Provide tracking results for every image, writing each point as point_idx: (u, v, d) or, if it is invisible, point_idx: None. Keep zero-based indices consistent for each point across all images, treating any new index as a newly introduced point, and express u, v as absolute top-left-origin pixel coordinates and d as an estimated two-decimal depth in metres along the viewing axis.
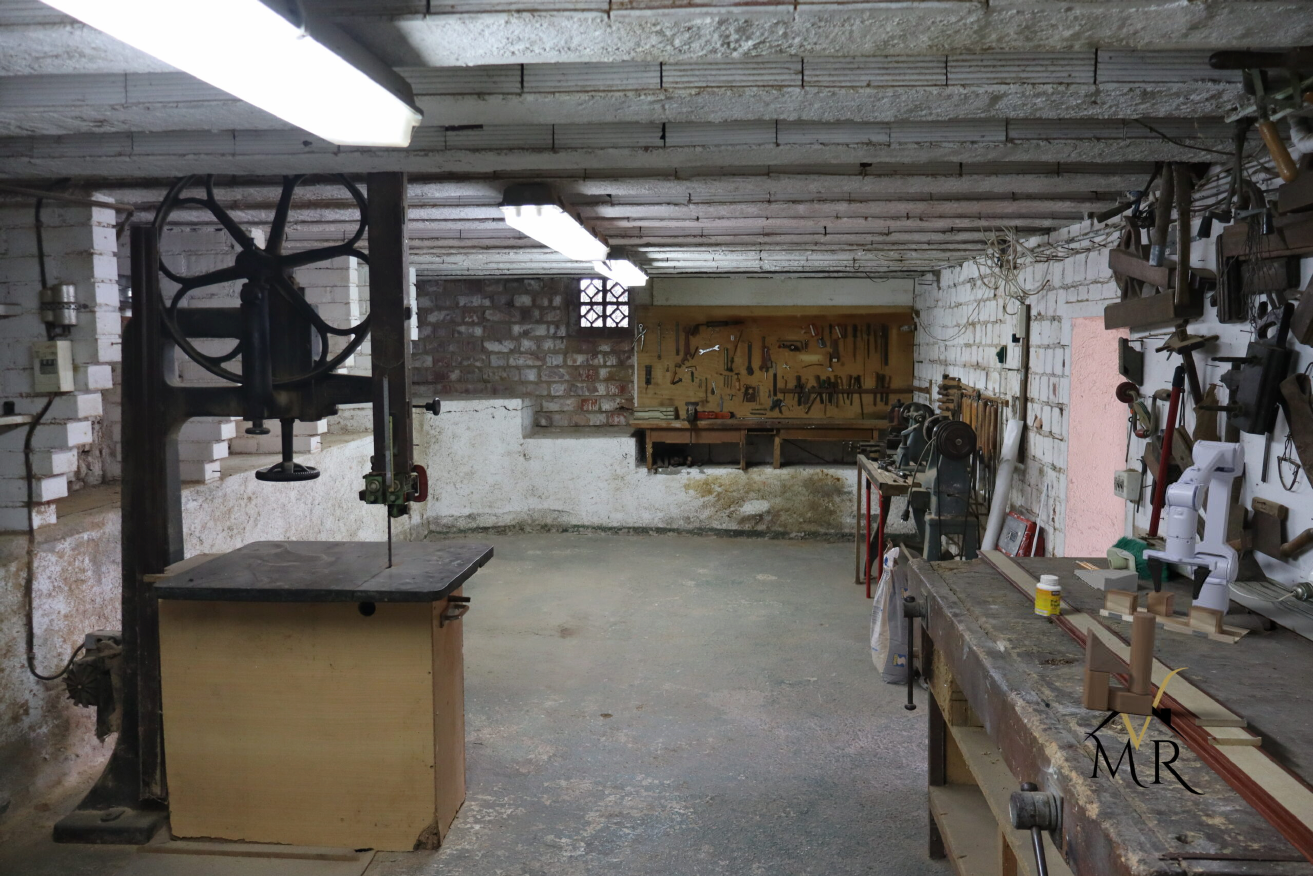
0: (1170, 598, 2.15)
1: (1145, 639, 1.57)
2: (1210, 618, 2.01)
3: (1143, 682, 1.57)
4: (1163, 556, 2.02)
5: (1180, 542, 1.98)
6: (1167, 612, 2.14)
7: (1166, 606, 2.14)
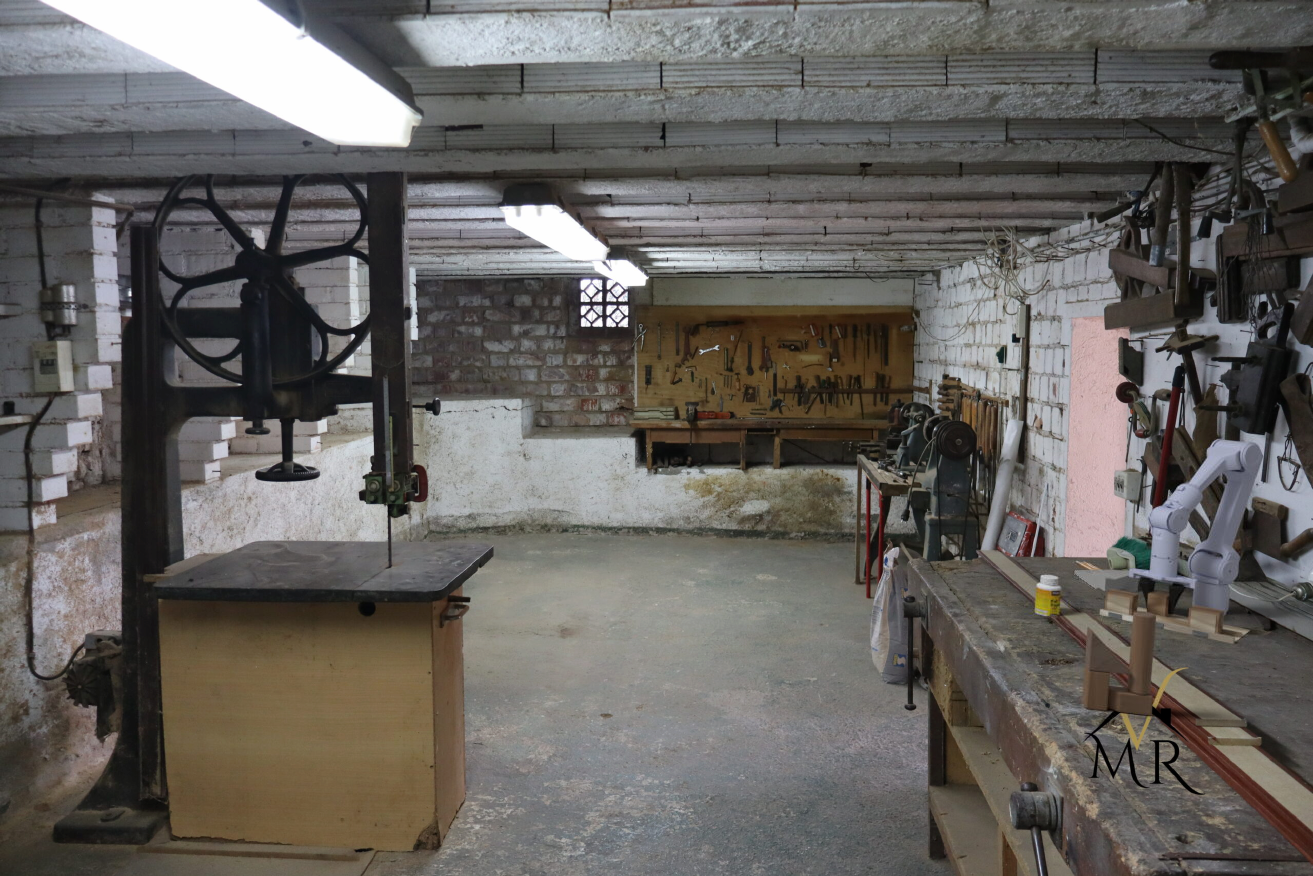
0: None
1: (1145, 639, 1.57)
2: (1210, 618, 2.01)
3: (1143, 682, 1.57)
4: (1148, 575, 2.16)
5: (1163, 562, 2.13)
6: (1167, 612, 2.14)
7: (1166, 606, 2.14)
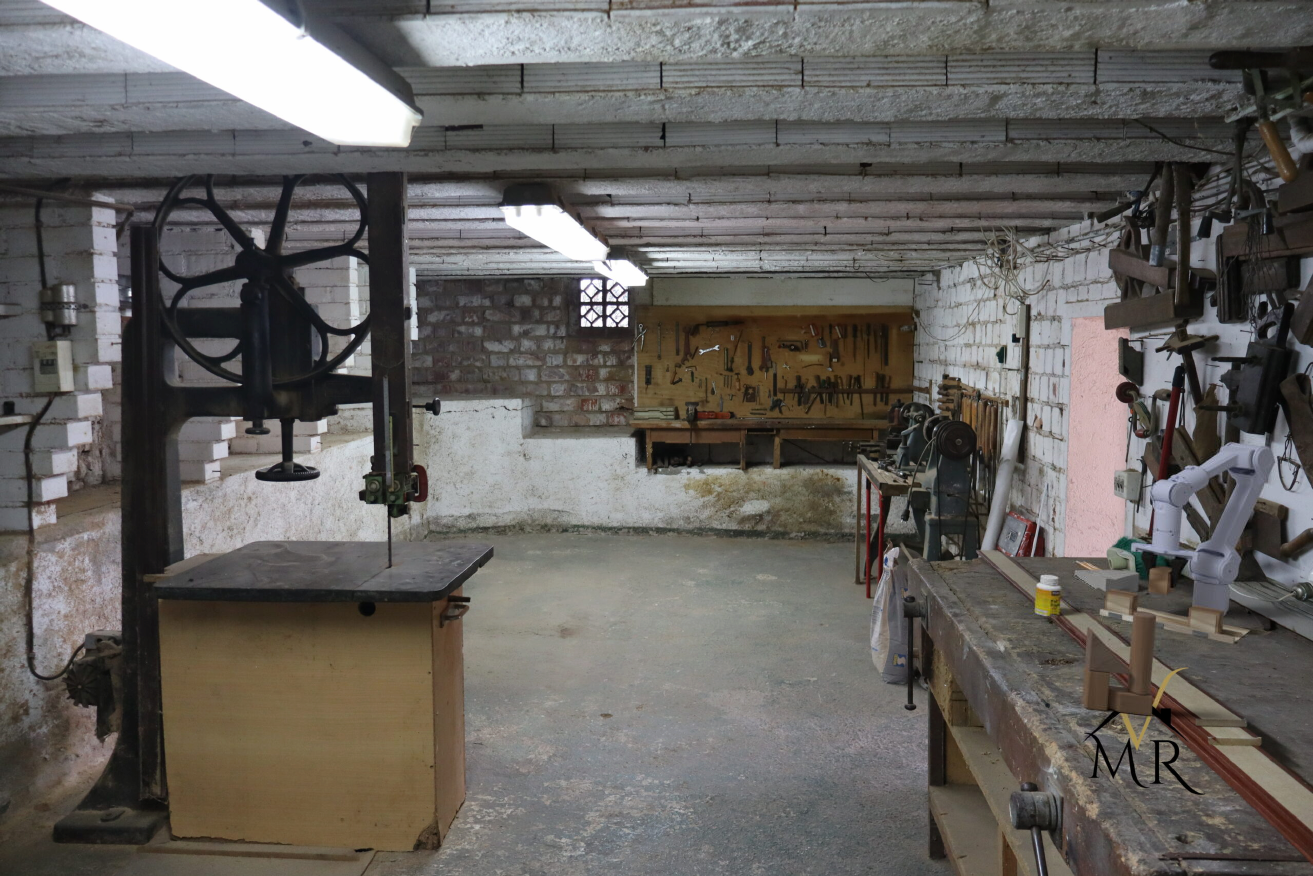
0: None
1: (1145, 639, 1.57)
2: (1210, 618, 2.01)
3: (1143, 682, 1.57)
4: (1150, 548, 2.16)
5: (1165, 535, 2.13)
6: (1169, 587, 2.14)
7: (1168, 581, 2.13)
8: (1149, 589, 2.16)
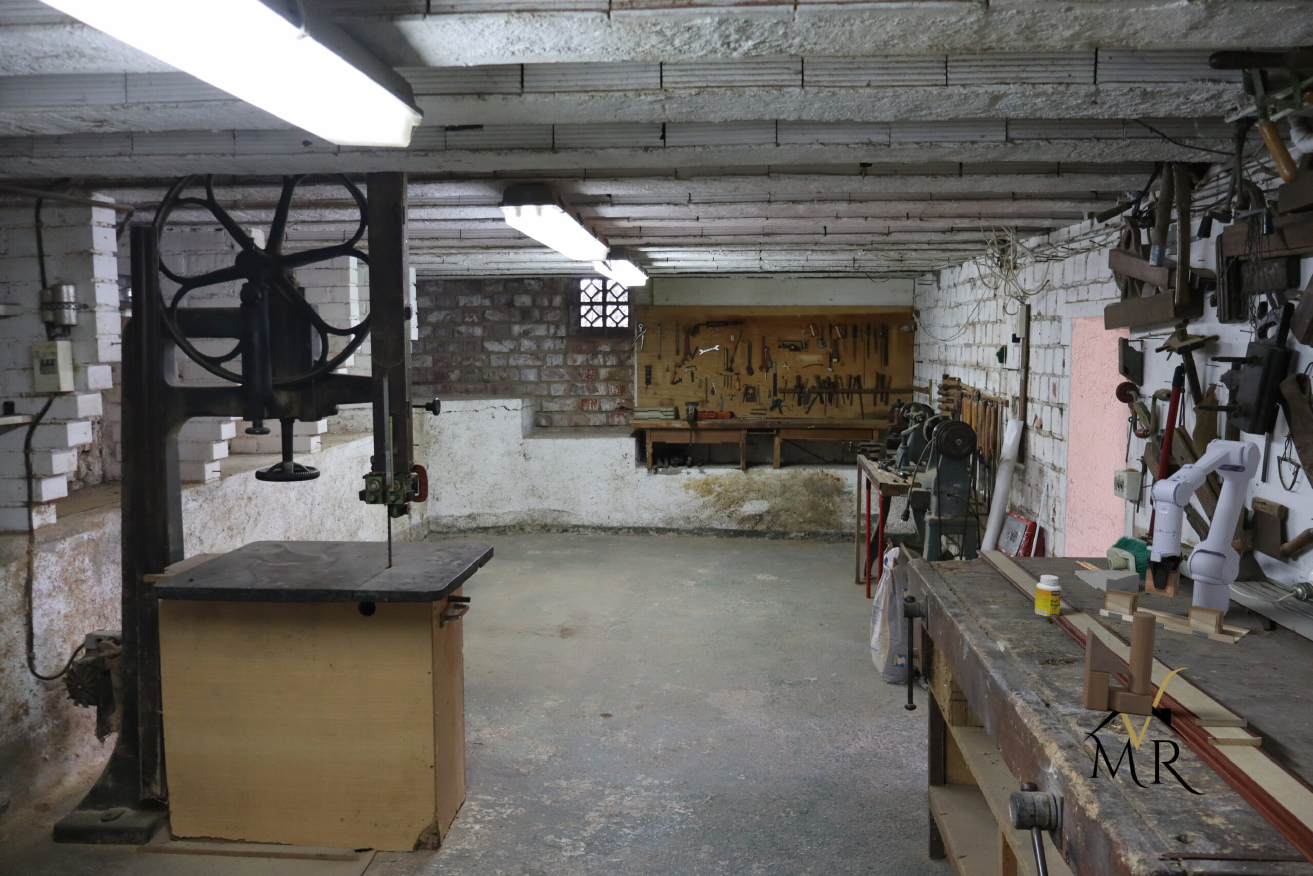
0: None
1: (1145, 639, 1.57)
2: (1210, 618, 2.01)
3: (1143, 682, 1.57)
4: None
5: None
6: (1150, 586, 2.12)
7: (1147, 579, 2.13)
8: None
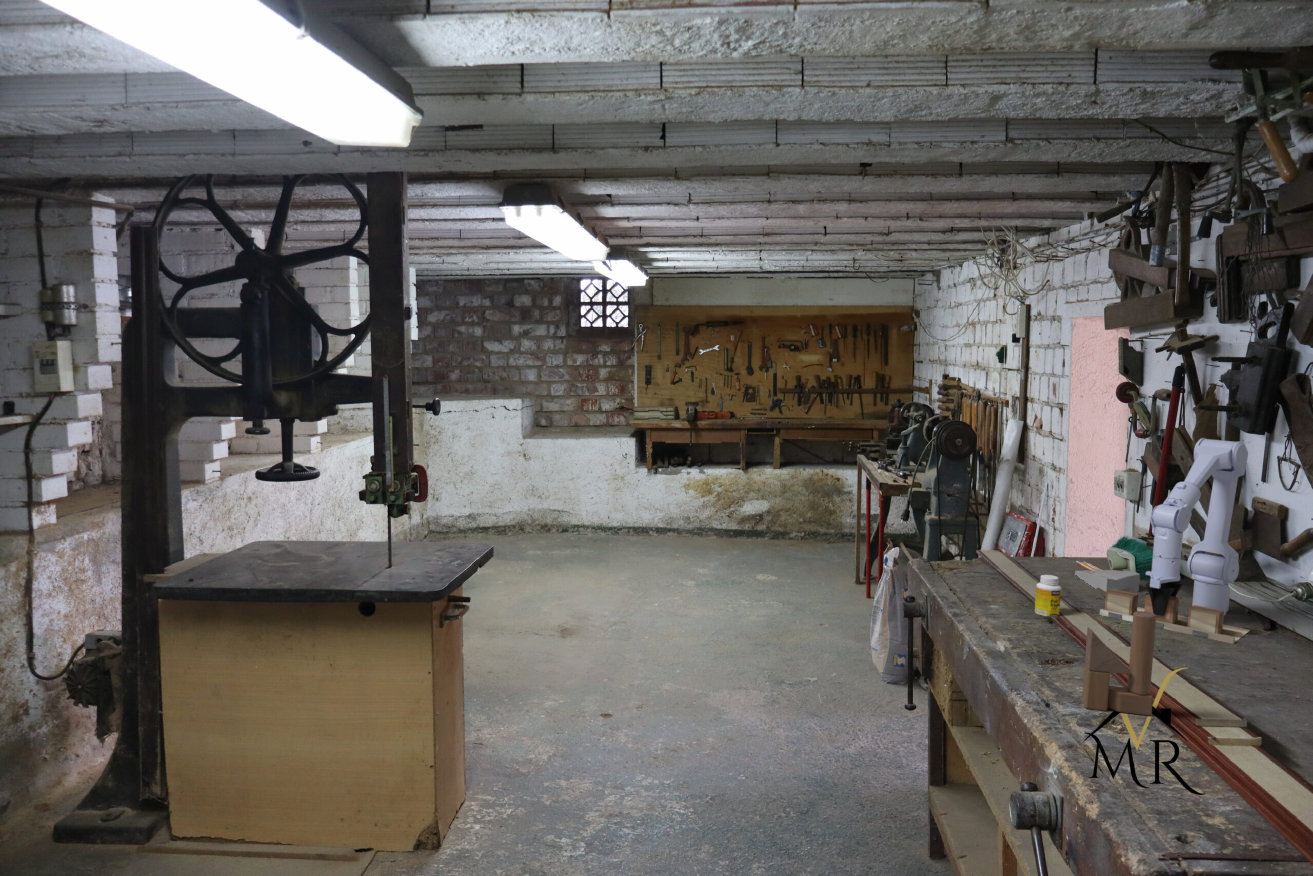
0: None
1: (1145, 639, 1.57)
2: (1210, 618, 2.01)
3: (1143, 682, 1.57)
4: None
5: None
6: None
7: (1146, 605, 2.11)
8: None
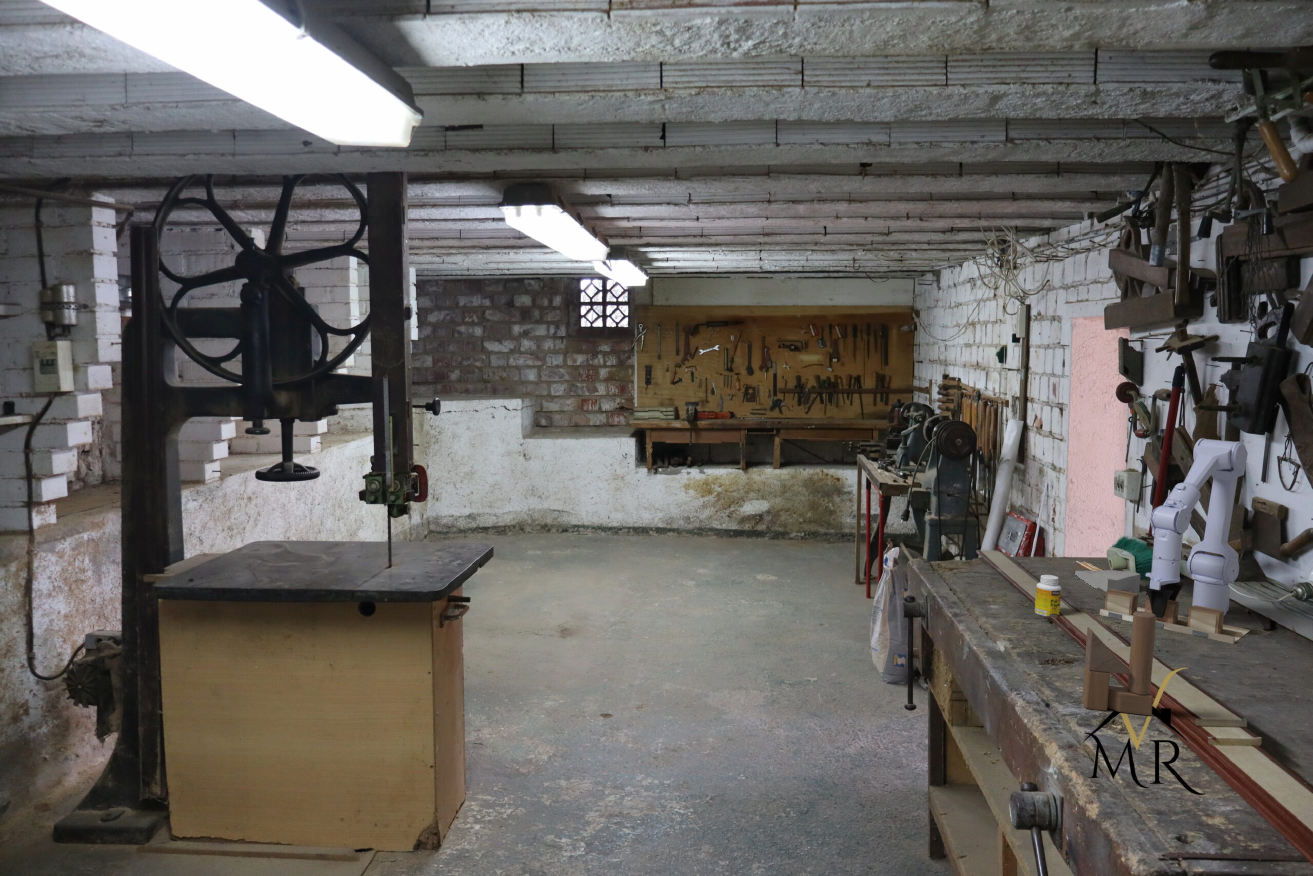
0: None
1: (1145, 639, 1.57)
2: (1210, 618, 2.01)
3: (1143, 682, 1.57)
4: None
5: None
6: None
7: (1146, 609, 2.11)
8: None
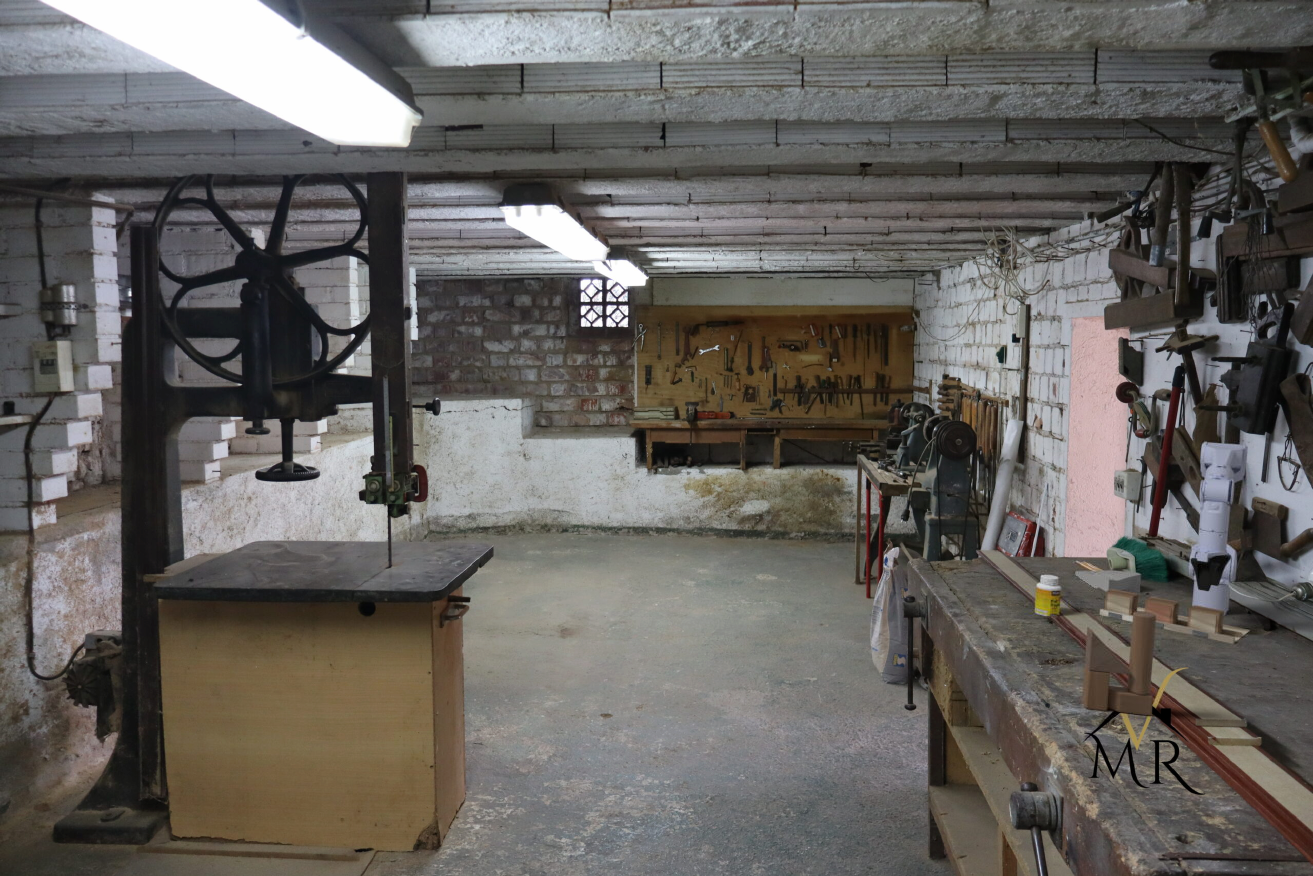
0: (1157, 605, 2.09)
1: (1145, 639, 1.57)
2: (1210, 618, 2.01)
3: (1143, 682, 1.57)
4: None
5: None
6: None
7: (1146, 609, 2.11)
8: None
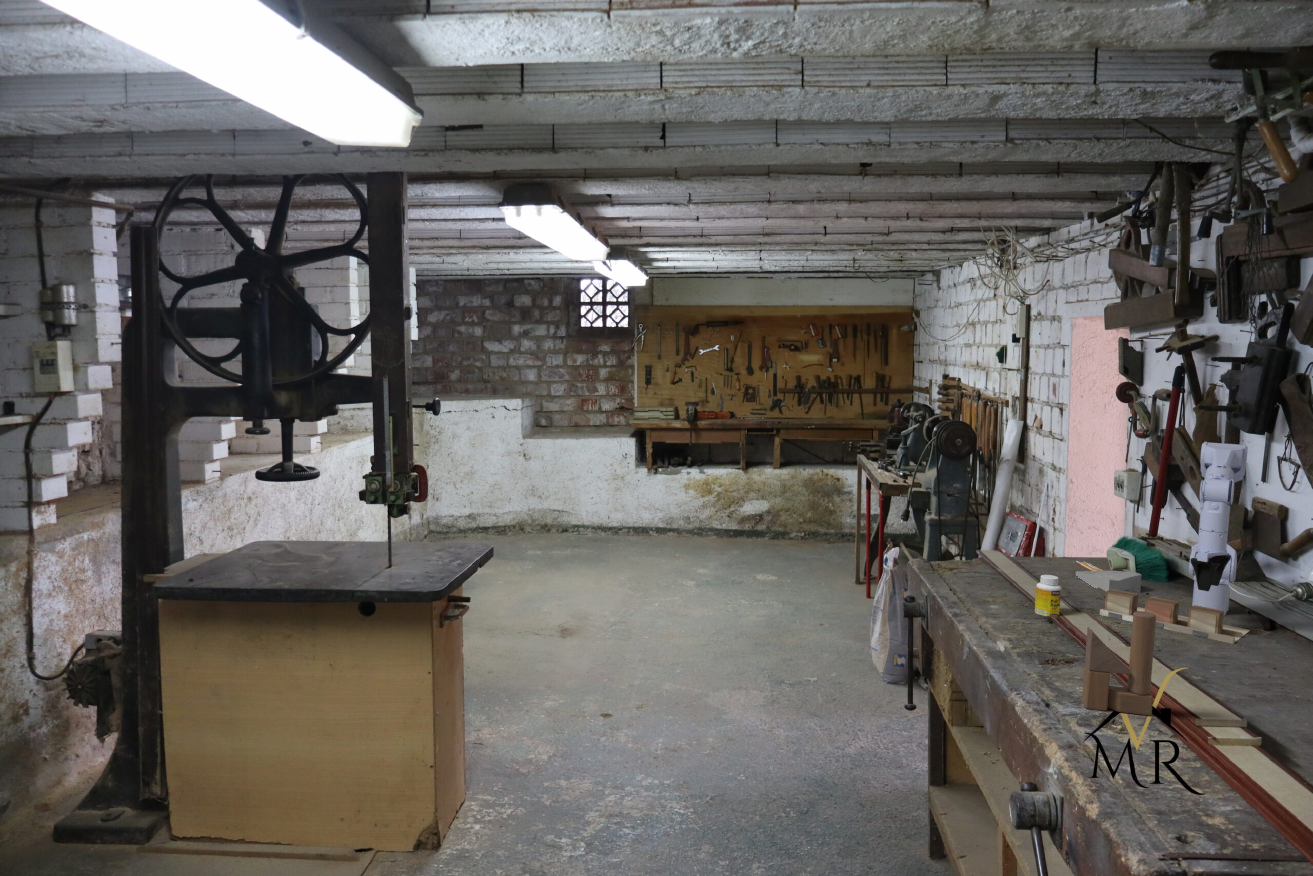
0: (1157, 605, 2.09)
1: (1145, 639, 1.57)
2: (1210, 618, 2.01)
3: (1143, 682, 1.57)
4: None
5: None
6: None
7: (1146, 609, 2.11)
8: None
